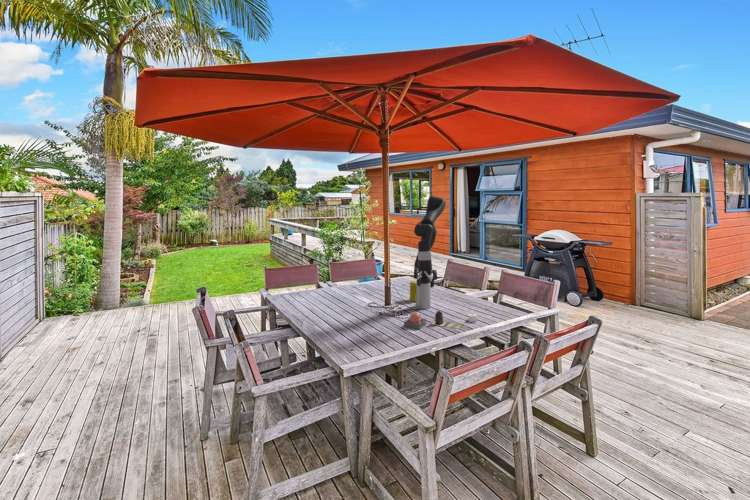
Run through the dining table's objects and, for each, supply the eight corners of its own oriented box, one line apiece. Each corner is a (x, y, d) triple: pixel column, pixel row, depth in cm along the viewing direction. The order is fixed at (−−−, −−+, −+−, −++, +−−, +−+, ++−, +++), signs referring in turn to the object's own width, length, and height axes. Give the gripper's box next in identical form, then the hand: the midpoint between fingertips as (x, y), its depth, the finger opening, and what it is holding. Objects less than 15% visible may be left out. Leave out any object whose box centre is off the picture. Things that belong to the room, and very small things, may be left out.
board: (428, 326, 212) (428, 324, 212) (434, 321, 221) (434, 319, 221) (459, 331, 203) (459, 329, 203) (464, 326, 212) (464, 324, 211)
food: (408, 303, 267) (413, 301, 276) (424, 301, 262) (428, 298, 271) (404, 283, 267) (408, 281, 276) (419, 280, 262) (423, 278, 272)
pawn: (434, 323, 213) (434, 311, 212) (436, 321, 217) (436, 309, 216) (441, 325, 211) (441, 312, 210) (444, 322, 215) (444, 310, 214)
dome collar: (404, 328, 209) (403, 321, 209) (411, 323, 217) (411, 317, 217) (419, 331, 204) (419, 324, 204) (426, 326, 213) (426, 319, 212)
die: (468, 323, 217) (469, 315, 216) (468, 321, 221) (468, 313, 220) (476, 323, 216) (476, 316, 215) (476, 321, 220) (476, 313, 219)
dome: (407, 323, 210) (407, 313, 209) (412, 320, 215) (412, 310, 214) (418, 325, 206) (418, 315, 206) (422, 322, 212) (422, 312, 211)
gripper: (410, 259, 214) (411, 286, 216) (432, 260, 205) (432, 289, 207) (417, 257, 220) (418, 284, 222) (438, 258, 211) (439, 286, 212)
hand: (425, 286), depth 214 cm, fingers open, 8 cm apart
